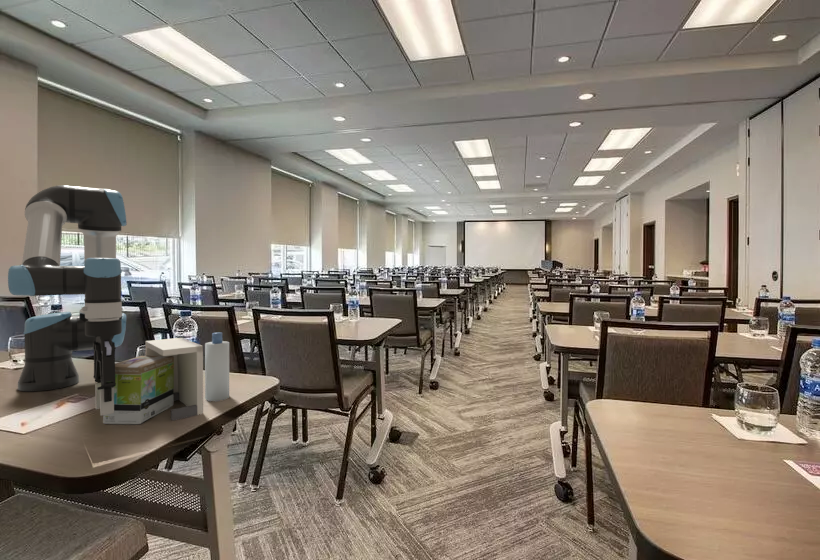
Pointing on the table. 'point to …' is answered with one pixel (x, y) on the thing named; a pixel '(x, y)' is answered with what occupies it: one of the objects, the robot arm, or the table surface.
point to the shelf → (183, 367)
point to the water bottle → (216, 368)
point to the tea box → (142, 389)
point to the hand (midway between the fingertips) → (104, 410)
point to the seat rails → (182, 410)
